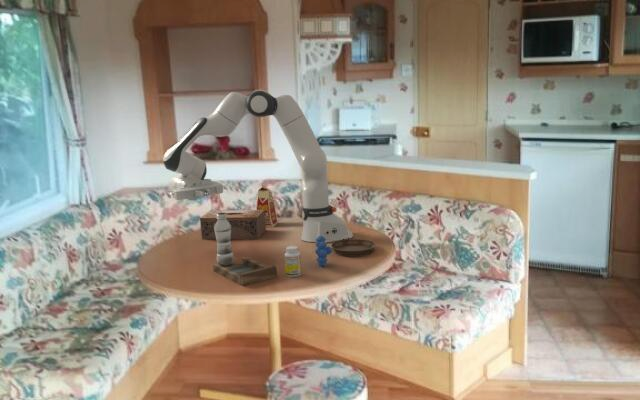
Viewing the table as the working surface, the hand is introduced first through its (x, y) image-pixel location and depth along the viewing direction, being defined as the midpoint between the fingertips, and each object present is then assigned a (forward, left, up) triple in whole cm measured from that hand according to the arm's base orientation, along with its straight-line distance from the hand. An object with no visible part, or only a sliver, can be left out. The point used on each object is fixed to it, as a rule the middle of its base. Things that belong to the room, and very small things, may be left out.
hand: (206, 193), depth 244 cm
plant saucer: (-55, +14, -26) cm, 62 cm away
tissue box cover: (-14, -33, -26) cm, 44 cm away
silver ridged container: (-4, +11, -26) cm, 29 cm away
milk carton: (-31, -45, -26) cm, 60 cm away
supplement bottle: (-25, +34, -26) cm, 50 cm away
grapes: (-39, +28, -26) cm, 55 cm away
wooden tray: (-9, +25, -26) cm, 37 cm away
